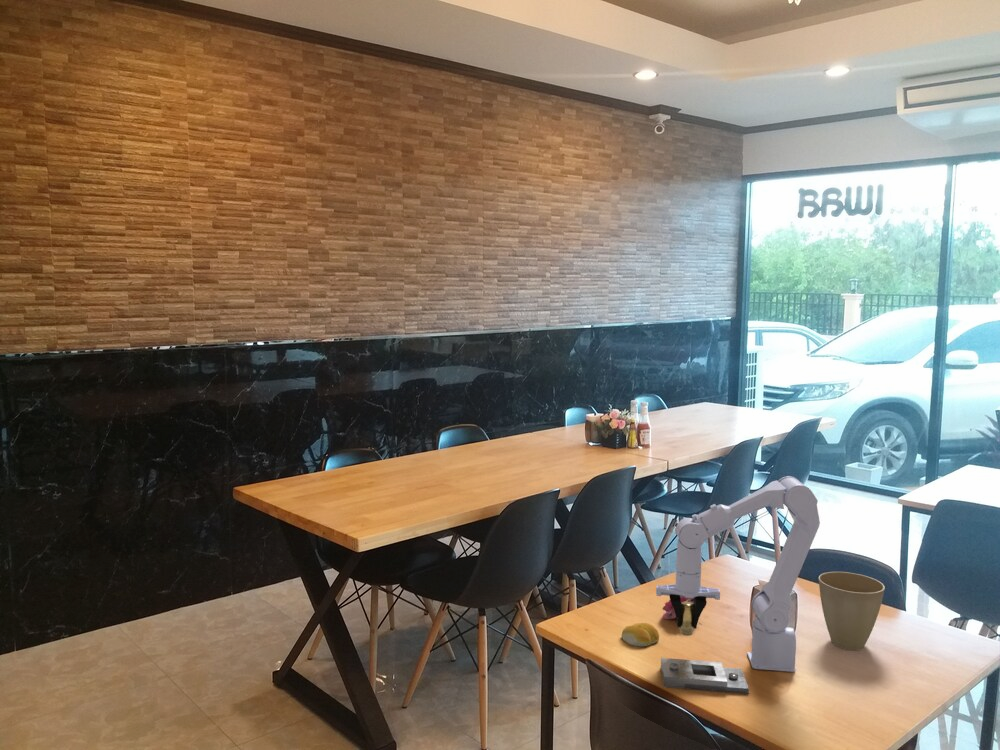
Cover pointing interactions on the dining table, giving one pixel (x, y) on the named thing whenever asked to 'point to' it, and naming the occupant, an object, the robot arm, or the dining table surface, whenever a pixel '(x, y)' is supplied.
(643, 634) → the bread roll
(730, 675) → the grey plate with knobs
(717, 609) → the dining table surface
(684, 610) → the brass pin
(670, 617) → the flower
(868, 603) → the plant pot
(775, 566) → the robot arm
